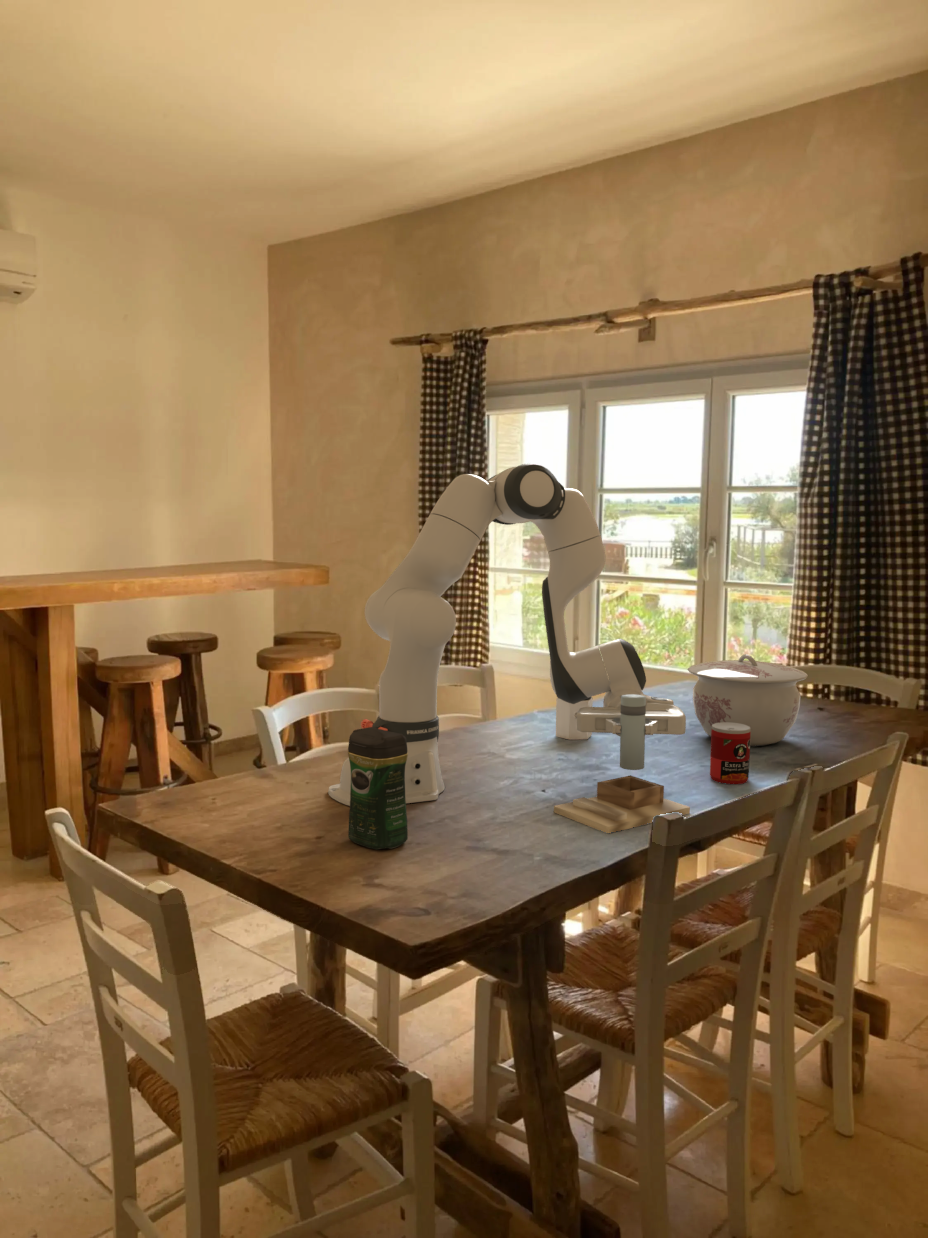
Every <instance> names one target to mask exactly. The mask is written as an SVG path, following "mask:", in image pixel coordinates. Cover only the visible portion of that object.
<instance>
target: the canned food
mask: <svg viewBox="0 0 928 1238" xmlns="http://www.w3.org/2000/svg"><path fill="white" fill-rule="evenodd" d="M750 737H751V730H750V727H749V726H747V725H744V724H739V723H731V722H720V723H715V724H713V725H712V728H711V737H710V759H709V761H710V762H709V776H710V780H712V781H714V782H715V783H719V782H720V783H719V784H723V783H726V784H725V785H742V784H745V783H747V782H748V780H749V775H750V774H749V773H750V754H751V746H750Z"/></svg>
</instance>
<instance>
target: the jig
mask: <svg viewBox="0 0 928 1238" xmlns="http://www.w3.org/2000/svg"><path fill="white" fill-rule="evenodd" d="M664 791H665V786H664V785H662V784H659V783H656V782H653V781H649V780H646V779H643V778H640V777H636V776H634V775H625V776H621V777H617V778H612V779H607V780H602V781H597V782H596V796H593V797H579V798H574V799H573V800H572V801H570V802H566V803H561V804H556V805H553V813H555V814H557V815H560V816H562V817H564V818H566V819H570V820H572V821H574V822H578V823H580V824H582V825H585V826H588V827H589V828H592V829H595V830H597V831H600V830H601V831H600V832H602V831H603V832H602V833H605V832H606V833H605V834H607V833H610V834H612V833H611V832H614V833H617V832H616V831H618V832H621V830H622V831H626V830H628V829H629V830H630V829H634V828H637V827H640V826H641V825H642V826H645V825H648V824H649V823H650V824H653V823H652V820H653V817H654V816H656V815H660V814H666V813H672V812H679V813H682V814H683V815H682V816H685V815H689V814H690V812H691V811H690V810H691V807H690V806H688V805H685V804H682V803H679V802H676V801H673V800H671V799H666V798H664V794H665V792H664ZM647 823H648V824H647ZM633 827H634V828H633Z"/></svg>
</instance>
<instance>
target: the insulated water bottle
mask: <svg viewBox="0 0 928 1238" xmlns="http://www.w3.org/2000/svg"><path fill="white" fill-rule="evenodd" d="M645 714H646V697H645V696H642V695H633V694H630V695H622V696H621V729H620V730H621V734H620V736H619V739H620V740H619V741H620V742H619V745H620V746H619V768H621V769H623V770H627V771H628V770H630V771H639V770H643V769H645V753H646V752H645V749H646V744H645V742H646V735H645Z"/></svg>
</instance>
